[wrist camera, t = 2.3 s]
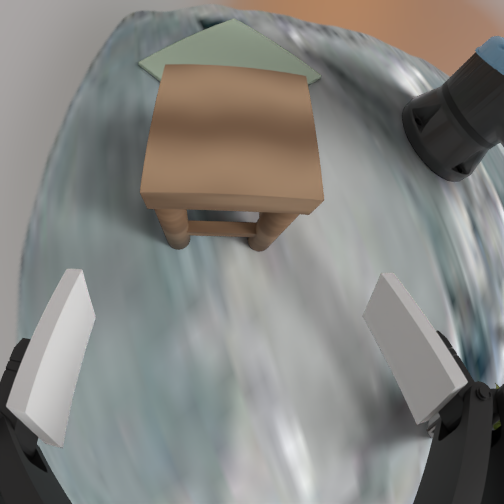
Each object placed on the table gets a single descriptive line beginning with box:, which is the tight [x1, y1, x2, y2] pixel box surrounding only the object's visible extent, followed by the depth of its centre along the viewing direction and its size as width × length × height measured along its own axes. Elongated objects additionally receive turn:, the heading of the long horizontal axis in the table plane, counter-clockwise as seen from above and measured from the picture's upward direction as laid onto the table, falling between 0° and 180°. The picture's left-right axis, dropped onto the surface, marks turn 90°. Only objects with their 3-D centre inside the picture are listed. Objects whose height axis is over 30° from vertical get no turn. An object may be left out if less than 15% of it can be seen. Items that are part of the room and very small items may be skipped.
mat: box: [138, 19, 321, 85], centre depth 33 cm, size 18×18×1 cm
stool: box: [140, 64, 324, 251], centre depth 23 cm, size 10×10×14 cm
